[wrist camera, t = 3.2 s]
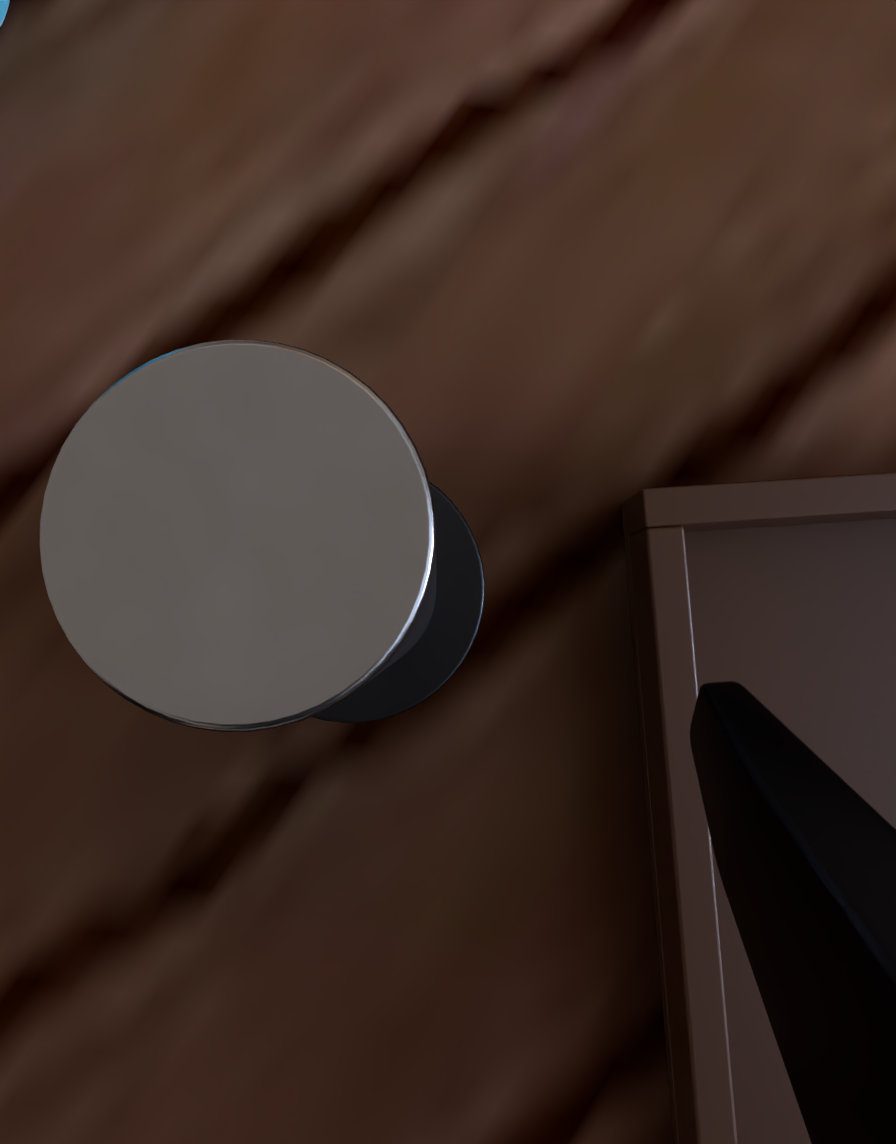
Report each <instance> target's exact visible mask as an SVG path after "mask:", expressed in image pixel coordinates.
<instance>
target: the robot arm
mask: <svg viewBox="0 0 896 1144" xmlns="http://www.w3.org/2000/svg"><path fill="white" fill-rule="evenodd" d="M690 744H691V749H692V754H693V759H694V763H695V768H696V772H697V777H698V781H699V786H700V791H701V795H702V800H703V804H704V809H705V814H706V818H707V823H708V827H709V832H710V836H711V841H712V846H713V850H714V854H715V858H716V863H717V867H718V870H719V873H720V877H721V880H722V883H723V886H724V889H725V892H726V895H727V898H728V901H729V904H730V907H731V910H732V913H733V916H734V919H735V921H736V924H737V927H738V930H739V933H740V936H741V939H742V942H743V945H744V948H745V951H746V954H747V957H748V959H749V962H750V965H751V968H752V971H753V974H754V977H755V980H756V983H757V986H758V989H759V992H760V995H761V997H762V1000H763V1003H764V1006H765V1009H766V1012H767V1015H768V1018H769V1021H770V1024H771V1027H772V1030H773V1033H774V1035H775V1038H776V1041H777V1044H778V1047H779V1050H780V1053H781V1056H782V1059H783V1062H784V1065H785V1068H786V1071H787V1073H788V1076H789V1079H790V1082H791V1085H792V1088H793V1091H794V1094H795V1097H796V1100H797V1103H798V1106H799V1108H800V1111H801V1114H802V1117H803V1120H804V1123H805V1126H806V1129H807V1132H808V1135H809V1138H810V1141H811V1144H896V829H895V828H894V827H893V826H892V825H891V824H890V823H889V822H888V821H886V820H885V819H884V818H883V817H882V816H881V815H880V814H879V813H878V812H877V811H876V810H875V809H874V808H873V807H872V806H871V805H869V804H868V803H867V802H866V801H865V800H864V799H863V798H862V797H861V796H860V795H859V794H858V793H857V792H856V791H855V790H854V789H852V788H851V787H850V786H849V785H848V784H847V783H846V782H845V781H844V780H843V779H842V778H841V777H840V776H839V775H838V774H836V773H835V772H834V771H833V770H832V769H831V768H830V767H829V766H828V765H827V764H826V763H825V762H824V761H823V760H822V759H821V758H819V757H818V756H817V755H816V754H815V753H814V752H813V751H812V750H811V749H810V748H809V747H808V746H807V745H806V744H805V743H804V742H802V741H801V740H800V739H799V738H798V737H797V736H796V735H795V734H794V733H793V732H792V731H791V730H790V729H789V728H788V727H787V726H785V725H784V724H783V723H782V722H781V721H780V720H779V719H778V718H777V717H776V716H775V715H774V714H773V713H772V712H771V711H769V710H768V709H767V708H766V707H765V706H764V705H763V704H762V703H761V702H760V701H759V700H758V699H757V698H756V697H755V696H754V695H752V694H751V693H750V692H749V691H748V690H747V689H746V688H745V687H744V686H743V685H741V684H740V683H738V682H735V681H724V682H711V683H705V684H703V685H702V686H701V687H700V689H699V692H698V696H697V700H696V705H695V709H694V713H693V717H692V721H691V726H690Z"/></svg>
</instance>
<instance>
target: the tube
mask: <svg viewBox="0 0 896 1144" xmlns="http://www.w3.org/2000/svg"><path fill="white" fill-rule="evenodd" d="M9 1H10V0H0V27H1V25H2V23H3V21H4V18H5V15H6V13H7V10H8V7H9Z"/></svg>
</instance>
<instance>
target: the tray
mask: <svg viewBox="0 0 896 1144" xmlns="http://www.w3.org/2000/svg"><path fill="white" fill-rule="evenodd" d="M621 506H622V518H623V530H624V542H625V554H626V566H627V579H628V591H629V603H630V615H631V627H632V639H633V651H634V664H635V676H636V688H637V700H638V712H639V724H640V737H641V749H642V761H643V773H644V785H645V797H646V809H647V822H648V834H649V846H650V858H651V870H652V882H653V894H654V907H655V919H656V931H657V943H658V955H659V967H660V979H661V992H662V1004H663V1016H664V1028H665V1040H666V1052H667V1064H668V1077H669V1089H670V1101H671V1113H672V1125H673V1137H674V1144H811V1141H810V1138H809V1135H808V1132H807V1129H806V1126H805V1123H804V1120H803V1117H802V1114H801V1111H800V1108H799V1106H798V1103H797V1100H796V1097H795V1094H794V1091H793V1088H792V1085H791V1082H790V1079H789V1076H788V1073H787V1071H786V1068H785V1065H784V1062H783V1059H782V1056H781V1053H780V1050H779V1047H778V1044H777V1041H776V1038H775V1035H774V1033H773V1030H772V1027H771V1024H770V1021H769V1018H768V1015H767V1012H766V1009H765V1006H764V1003H763V1000H762V997H761V995H760V992H759V989H758V986H757V983H756V980H755V977H754V974H753V971H752V968H751V965H750V962H749V959H748V957H747V954H746V951H745V948H744V945H743V942H742V939H741V936H740V933H739V930H738V927H737V924H736V921H735V919H734V916H733V913H732V910H731V907H730V904H729V901H728V898H727V895H726V892H725V889H724V886H723V883H722V880H721V877H720V873H719V870H718V867H717V863H716V858H715V854H714V850H713V846H712V841H711V836H710V832H709V827H708V823H707V818H706V814H705V809H704V804H703V800H702V795H701V791H700V786H699V781H698V777H697V772H696V768H695V763H694V759H693V754H692V749H691V744H690V726H691V721H692V717H693V713H694V709H695V705H696V700H697V696H698V692H699V689H700V687H701V686H702V685H703V684H705V683H711V682H724V681H735V682H738V683H740V684H741V685H743V686H744V687H745V688H746V689H747V690H748V691H749V692H750V693H751V694H752V695H754V696H755V697H756V698H757V699H758V700H759V701H760V702H761V703H762V704H763V705H764V706H765V707H766V708H767V709H768V710H769V711H771V712H772V713H773V714H774V715H775V716H776V717H777V718H778V719H779V720H780V721H781V722H782V723H783V724H784V725H785V726H787V727H788V728H789V729H790V730H791V731H792V732H793V733H794V734H795V735H796V736H797V737H798V738H799V739H800V740H801V741H802V742H804V743H805V744H806V745H807V746H808V747H809V748H810V749H811V750H812V751H813V752H814V753H815V754H816V755H817V756H818V757H819V758H821V759H822V760H823V761H824V762H825V763H826V764H827V765H828V766H829V767H830V768H831V769H832V770H833V771H834V772H835V773H836V774H838V775H839V776H840V777H841V778H842V779H843V780H844V781H845V782H846V783H847V784H848V785H849V786H850V787H851V788H852V789H854V790H855V791H856V792H857V793H858V794H859V795H860V796H861V797H862V798H863V799H864V800H865V801H866V802H867V803H868V804H869V805H871V806H872V807H873V808H874V809H875V810H876V811H877V812H878V813H879V814H880V815H881V816H882V817H883V818H884V819H885V820H886V821H888V822H889V823H890V824H891V825H892V826H893V827H894V828H895V829H896V472H891V473H875V474H860V475H845V476H829V477H814V478H799V479H783V480H768V481H753V482H737V483H722V484H707V485H691V486H676V487H661V488H645V489H642V490H641V491H639V492H638V493H637V494H635V495H634V496H632V497H631V498H629V499H628V500H626V501H625V502H623V503H622V505H621Z"/></svg>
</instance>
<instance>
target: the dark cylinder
mask: <svg viewBox="0 0 896 1144" xmlns="http://www.w3.org/2000/svg"><path fill="white" fill-rule="evenodd" d="M39 546H40V556H41V566H42V573H43V577H44V581H45V585H46V589H47V594H48V597H49V600H50V602H51V605H52V607H53V610H54V612H55V615H56V618H57V620H58V622H59V624H60V626H61V628H62V629H63V631H64V633H65V635H66V637H67V638H68V640H69V642H70V644H71V645H72V646H73V648H74V649H75V650H76V652H77V653H78V654H79V656H80V657H81V659H82V660H83V661H84V663H85V664H86V665H87V666H88V667H89V668H90V669H91V670H92V671H93V672H94V673H95V674H96V675H97V676H98V677H99V678H100V679H101V680H102V681H103V682H104V683H105V684H106V685H107V686H109V687H110V688H111V689H113V690H114V691H115V692H116V693H118V694H119V695H120V696H122V697H123V698H124V699H126V700H128V701H129V702H131V703H133V704H134V705H136V706H138V707H140V708H141V709H143V710H145V711H146V712H149V713H151V714H153V715H156V716H158V717H161V718H163V719H165V720H168V721H170V722H174V723H177V724H181V725H185V726H189V727H192V728H196V729H204V730H211V731H219V732H251V731H258V730H266V729H273V728H278V727H281V726H285V725H289V724H292V723H296V722H300V721H302V720H305V719H307V718H309V717H314V718H318V719H321V720H326V721H333V722H341V723H360V722H368V721H375V720H380V719H383V718H387V717H391V716H394V715H397V714H399V713H402V712H404V711H406V710H409V709H411V708H413V707H414V706H416V705H418V704H419V703H421V702H423V701H425V700H426V699H427V698H429V697H430V696H431V695H433V694H434V693H435V692H436V691H438V690H439V689H440V688H441V687H442V686H443V685H444V684H445V683H446V682H447V681H448V680H449V679H450V678H451V677H452V676H453V675H454V673H455V672H456V671H457V669H458V668H459V667H460V665H461V664H462V663H463V661H464V659H465V657H466V656H467V654H468V652H469V650H470V649H471V647H472V644H473V642H474V639H475V637H476V635H477V632H478V629H479V625H480V621H481V617H482V613H483V605H484V597H485V590H484V573H483V565H482V560H481V557H480V553H479V549H478V546H477V543H476V541H475V539H474V536H473V534H472V531H471V529H470V528H469V526H468V524H467V522H466V521H465V519H464V517H463V516H462V514H461V513H460V512H459V510H458V509H457V508H456V506H455V505H454V504H453V503H452V501H451V500H450V499H449V498H448V497H447V496H446V495H445V494H444V493H443V492H442V491H441V490H440V489H438V488H437V487H436V486H434V485H433V484H432V483H430V482H429V480H428V477H427V473H426V469H425V467H424V465H423V462H422V460H421V458H420V455H419V453H418V450H417V448H416V446H415V444H414V442H413V441H412V439H411V437H410V436H409V434H408V432H407V430H406V429H405V427H404V425H403V424H402V423H401V421H400V420H399V419H398V417H397V416H396V415H395V414H394V412H393V411H392V410H391V408H390V407H389V406H388V405H387V404H386V403H385V402H384V401H383V400H382V399H381V398H380V397H379V396H378V395H377V394H376V393H375V392H374V391H373V390H372V389H371V388H370V387H369V386H368V385H366V384H365V383H364V382H363V381H361V380H360V379H359V378H357V377H356V376H355V375H353V374H352V373H351V372H349V371H348V370H346V369H344V368H342V367H341V366H339V365H337V364H335V363H333V362H332V361H330V360H328V359H326V358H324V357H321V356H319V355H316V354H314V353H311V352H309V351H307V350H304V349H300V348H297V347H293V346H289V345H285V344H281V343H276V342H268V341H261V340H221V341H213V342H205V343H200V344H197V345H193V346H189V347H185V348H181V349H177V350H175V351H172V352H170V353H167V354H165V355H162V356H160V357H157V358H155V359H153V360H151V361H149V362H147V363H145V364H144V365H142V366H140V367H138V368H136V369H135V370H133V371H131V372H130V373H128V374H127V375H126V376H124V377H123V378H121V379H120V380H119V381H117V382H116V383H115V384H113V385H112V386H111V387H110V388H108V389H107V390H106V391H105V392H104V393H103V394H102V395H101V396H100V397H99V398H98V399H97V400H96V401H95V402H94V403H93V404H92V405H91V406H90V407H89V408H88V410H87V411H86V412H85V413H84V415H83V416H82V417H81V418H80V420H79V421H78V422H77V423H76V425H75V426H74V428H73V429H72V431H71V433H70V434H69V436H68V438H67V439H66V441H65V442H64V444H63V446H62V448H61V450H60V452H59V454H58V457H57V459H56V461H55V463H54V465H53V468H52V470H51V473H50V477H49V480H48V483H47V487H46V490H45V493H44V499H43V505H42V511H41V517H40V539H39Z"/></svg>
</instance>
